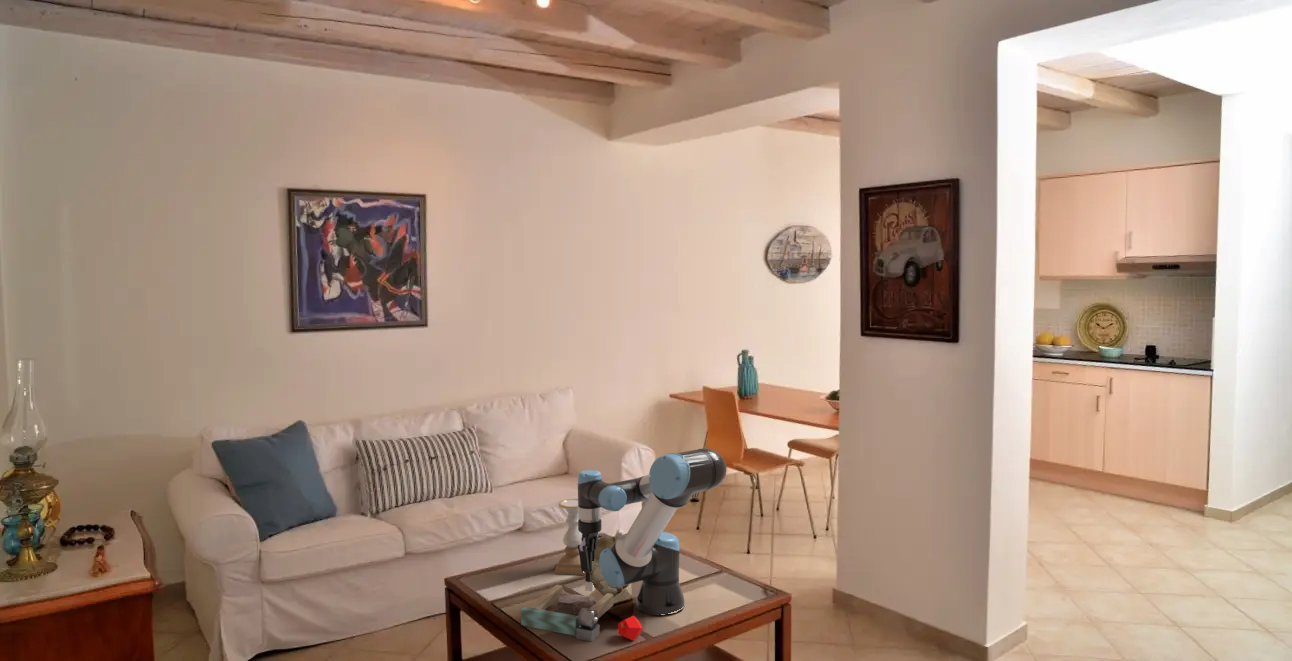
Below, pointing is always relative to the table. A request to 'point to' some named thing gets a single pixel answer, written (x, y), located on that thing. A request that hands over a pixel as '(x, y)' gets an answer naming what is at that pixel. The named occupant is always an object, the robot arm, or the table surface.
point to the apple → (630, 628)
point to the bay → (557, 621)
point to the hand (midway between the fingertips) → (589, 590)
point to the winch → (587, 625)
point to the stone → (573, 603)
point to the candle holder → (570, 541)
